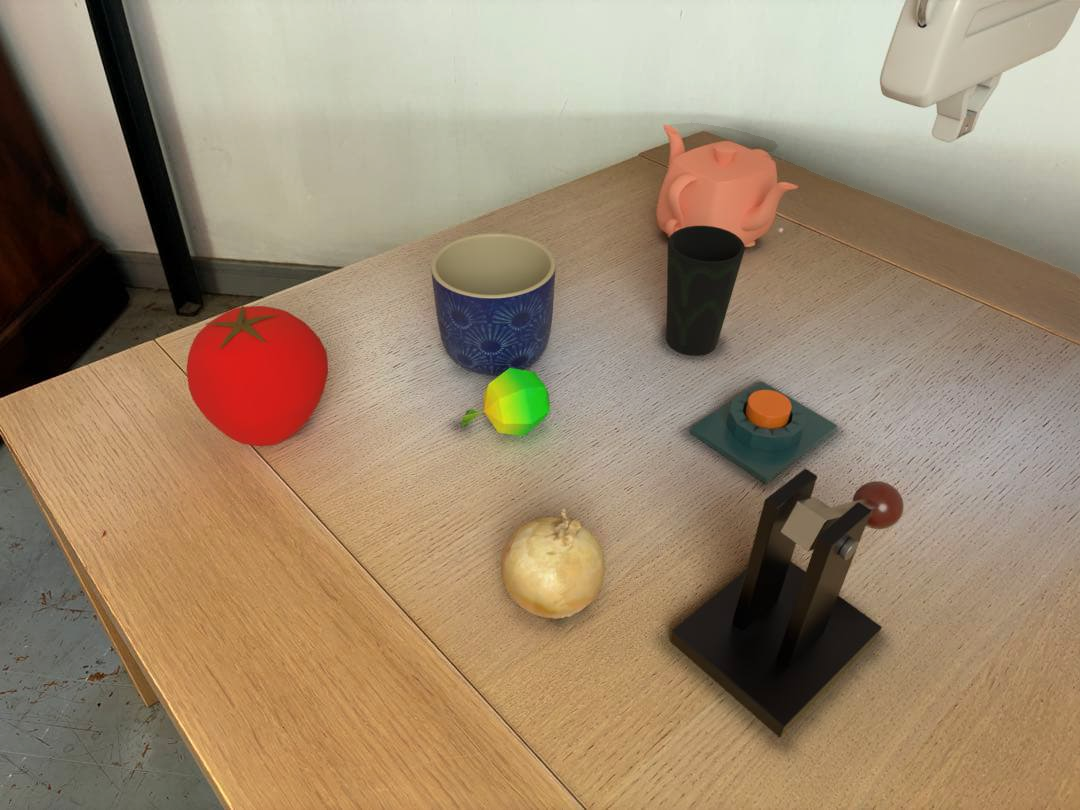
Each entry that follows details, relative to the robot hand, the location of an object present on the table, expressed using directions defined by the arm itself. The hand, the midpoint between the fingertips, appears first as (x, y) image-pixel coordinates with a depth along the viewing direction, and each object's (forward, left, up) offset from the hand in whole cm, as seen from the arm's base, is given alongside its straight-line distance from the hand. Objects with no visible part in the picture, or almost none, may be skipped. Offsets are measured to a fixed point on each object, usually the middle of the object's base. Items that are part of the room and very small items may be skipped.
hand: (951, 135), depth 61 cm
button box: (+8, +4, -29) cm, 30 cm away
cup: (+18, -8, -29) cm, 35 cm away
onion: (+20, +29, -29) cm, 46 cm away
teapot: (+21, -31, -29) cm, 47 cm away
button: (+8, +4, -27) cm, 28 cm away
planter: (+37, +2, -29) cm, 47 cm away
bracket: (+3, +27, -29) cm, 40 cm away
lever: (+1, +23, -21) cm, 31 cm away
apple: (+31, +13, -29) cm, 45 cm away
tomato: (+52, +21, -29) cm, 63 cm away
